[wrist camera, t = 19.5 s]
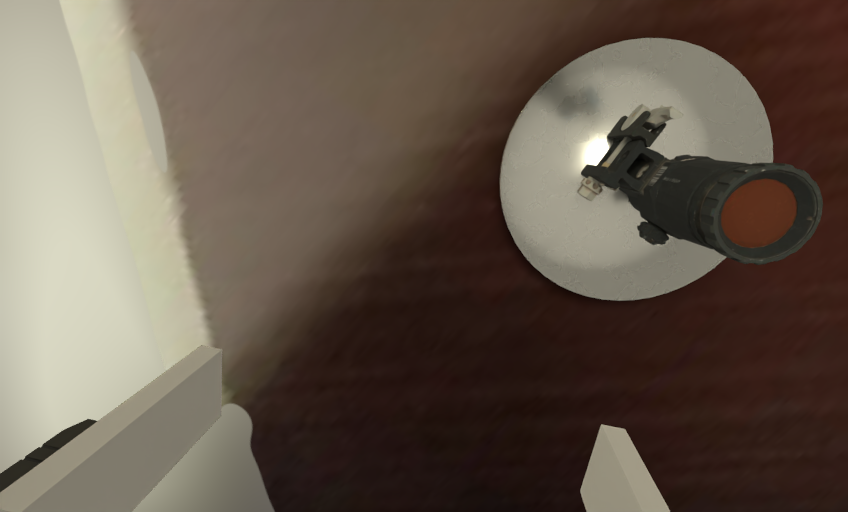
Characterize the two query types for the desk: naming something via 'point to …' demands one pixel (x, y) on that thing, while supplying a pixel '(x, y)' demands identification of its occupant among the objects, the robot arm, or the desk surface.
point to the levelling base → (587, 143)
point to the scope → (706, 194)
